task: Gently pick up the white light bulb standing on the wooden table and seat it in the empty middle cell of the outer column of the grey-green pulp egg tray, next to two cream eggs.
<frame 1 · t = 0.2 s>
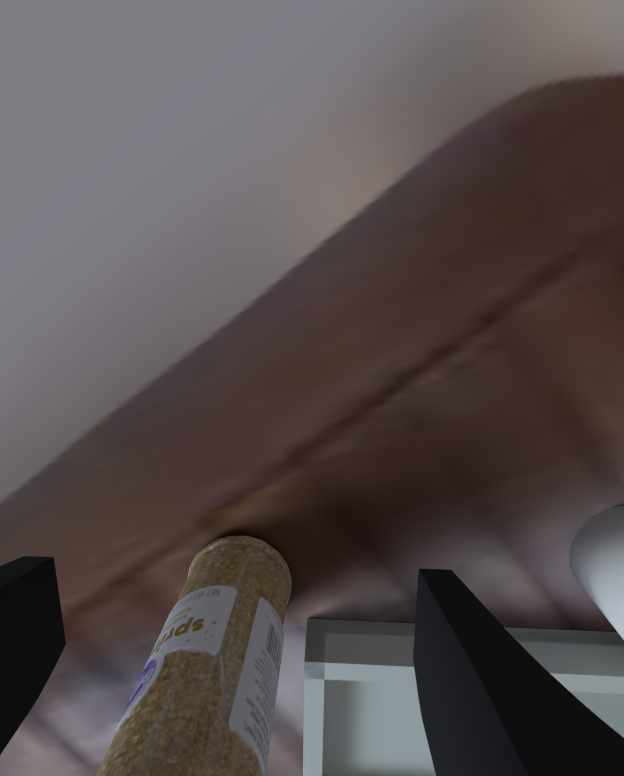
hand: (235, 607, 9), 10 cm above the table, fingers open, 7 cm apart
sprinkles bottle: (242, 575, 21), on the table
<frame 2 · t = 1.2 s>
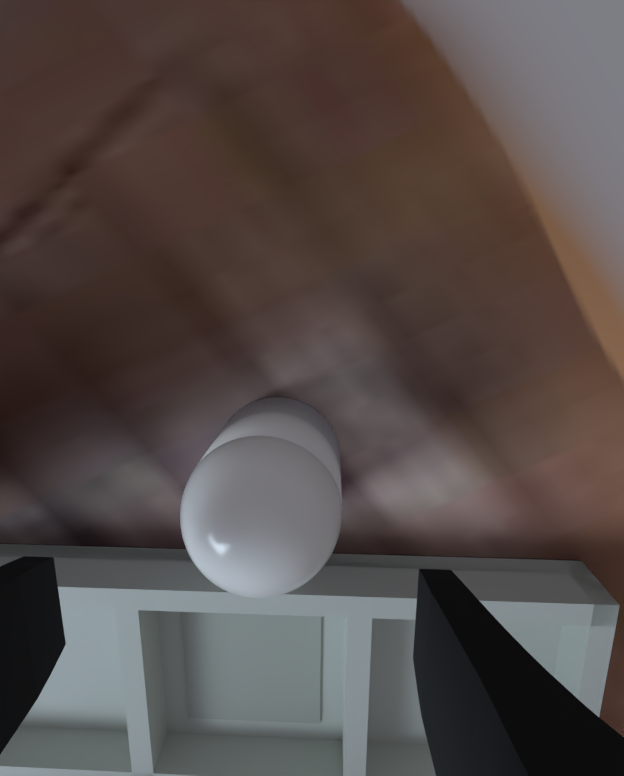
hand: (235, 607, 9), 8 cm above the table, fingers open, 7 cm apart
egg tray: (257, 726, 20), on the table
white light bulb: (278, 456, 17), on the table
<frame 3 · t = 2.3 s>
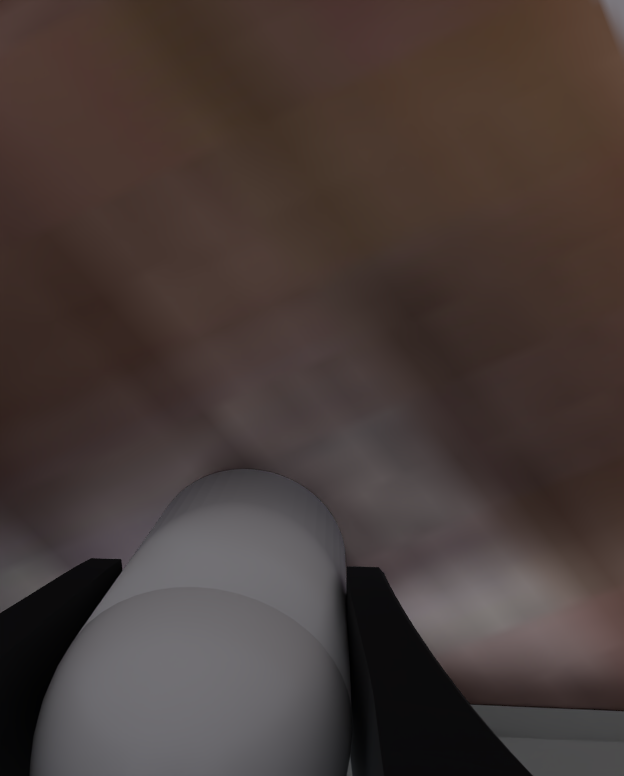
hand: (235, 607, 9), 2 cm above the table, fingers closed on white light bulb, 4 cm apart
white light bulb: (249, 558, 11), on the table, touching gripper
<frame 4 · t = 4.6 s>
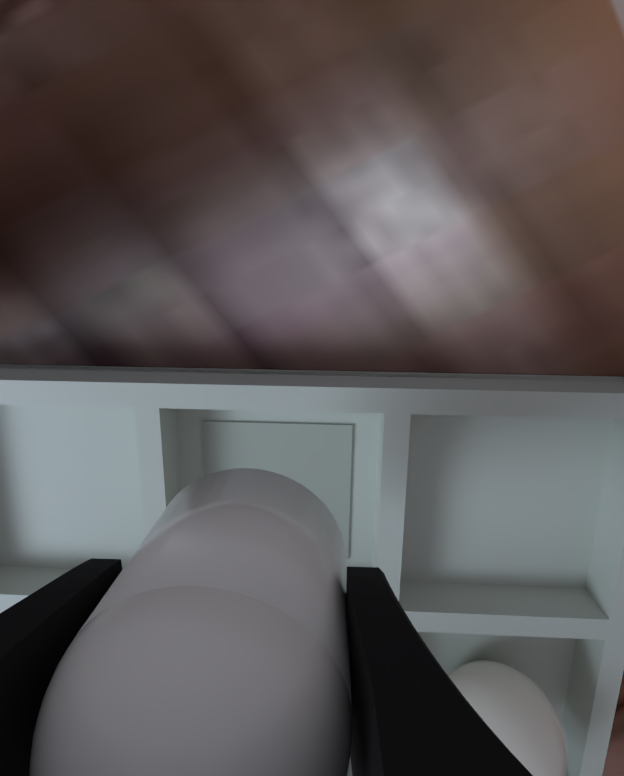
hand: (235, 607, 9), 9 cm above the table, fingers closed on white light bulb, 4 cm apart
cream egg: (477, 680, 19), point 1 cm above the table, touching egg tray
egg tray: (280, 572, 19), on the table
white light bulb: (249, 557, 11), point 7 cm above the table, touching gripper
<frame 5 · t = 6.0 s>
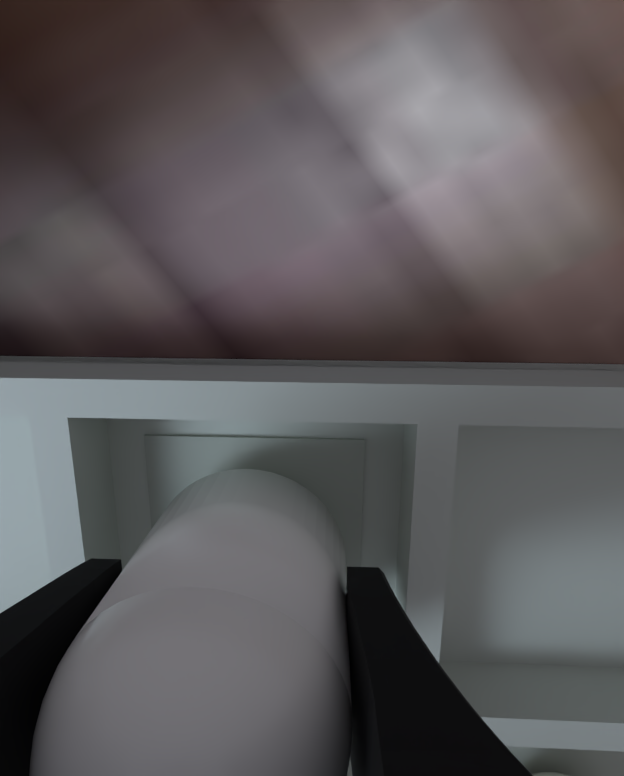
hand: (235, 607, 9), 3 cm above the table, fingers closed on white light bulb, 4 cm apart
egg tray: (263, 643, 14), on the table
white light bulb: (249, 558, 11), point 2 cm above the table, touching gripper
when the fingers open (3 cm above the table, at t = 6.9 s): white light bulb stays where it is, resting on egg tray.
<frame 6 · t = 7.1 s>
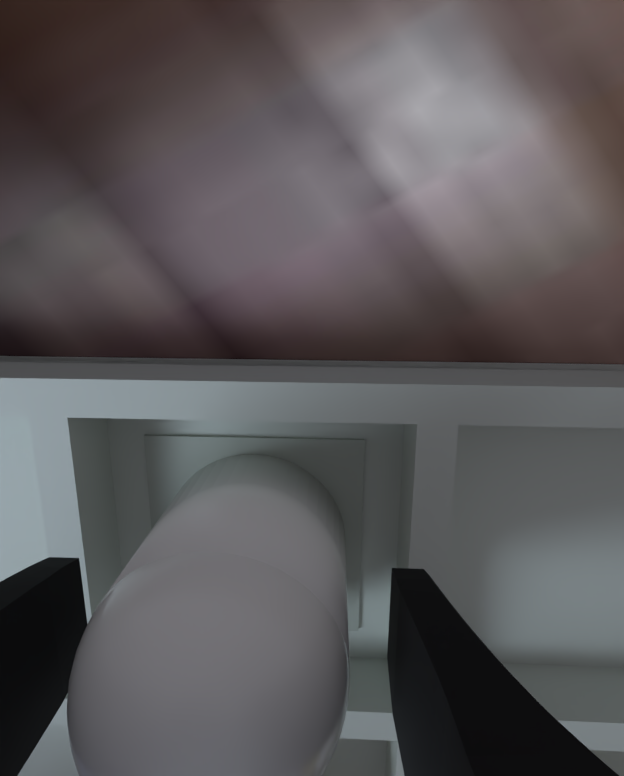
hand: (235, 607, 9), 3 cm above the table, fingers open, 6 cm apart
egg tray: (263, 643, 14), on the table
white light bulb: (255, 537, 12), point 1 cm above the table, touching egg tray
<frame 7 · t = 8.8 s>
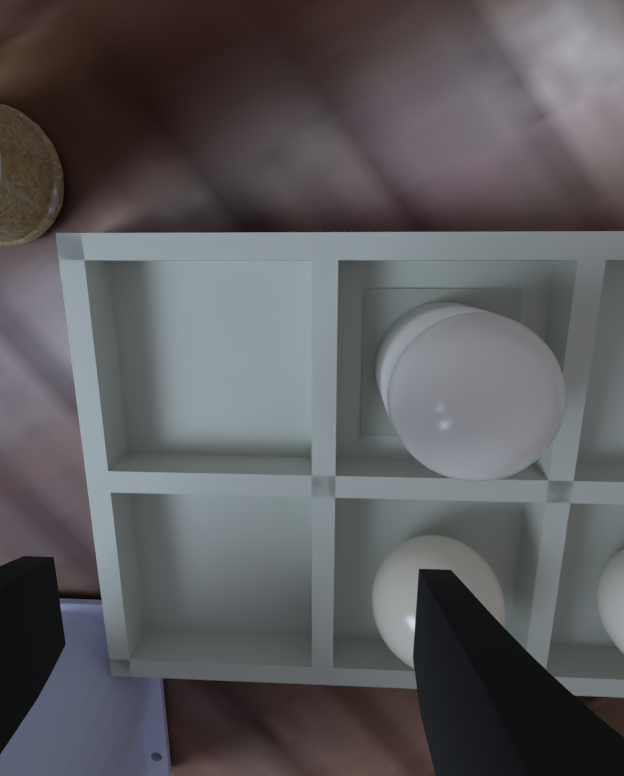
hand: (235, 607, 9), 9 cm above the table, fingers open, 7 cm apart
cream egg middle: (424, 563, 18), point 1 cm above the table, touching egg tray
egg tray: (426, 461, 18), on the table
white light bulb: (438, 365, 16), point 1 cm above the table, touching egg tray
sprinkles bottle: (10, 181, 17), on the table
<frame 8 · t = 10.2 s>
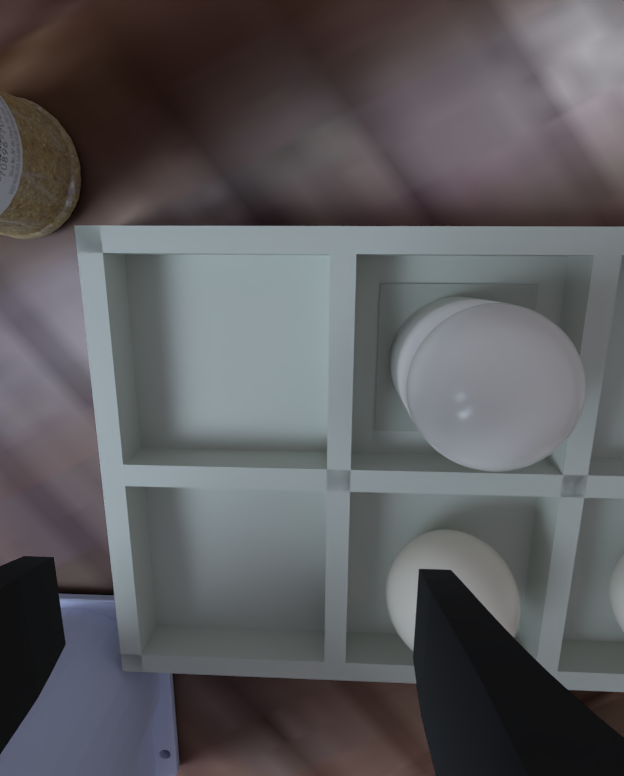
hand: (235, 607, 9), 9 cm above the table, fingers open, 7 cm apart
cream egg middle: (436, 558, 18), point 1 cm above the table, touching egg tray
egg tray: (439, 456, 18), on the table
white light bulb: (453, 360, 16), point 1 cm above the table, touching egg tray
sprinkles bottle: (26, 175, 17), on the table
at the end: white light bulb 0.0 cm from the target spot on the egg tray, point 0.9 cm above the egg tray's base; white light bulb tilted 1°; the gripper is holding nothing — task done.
